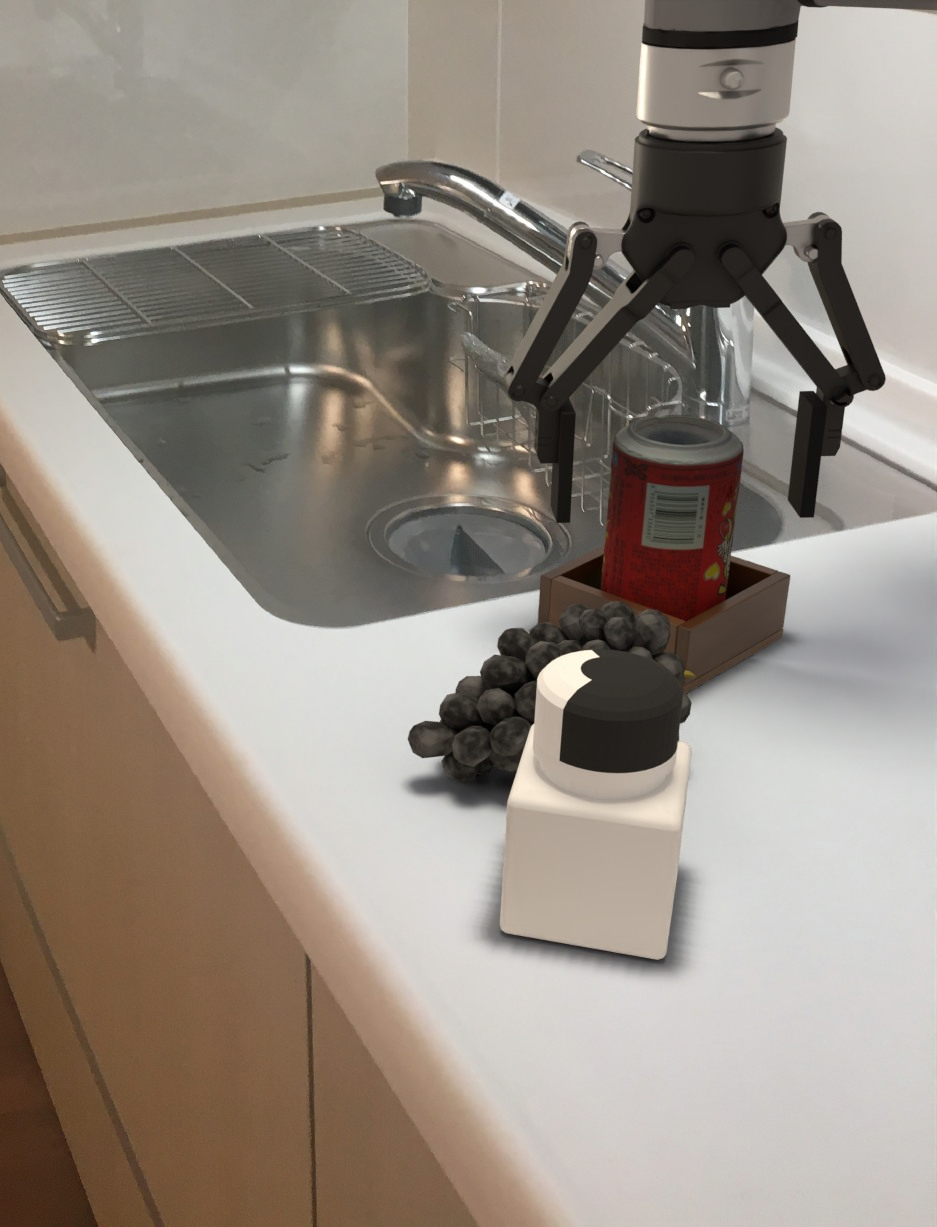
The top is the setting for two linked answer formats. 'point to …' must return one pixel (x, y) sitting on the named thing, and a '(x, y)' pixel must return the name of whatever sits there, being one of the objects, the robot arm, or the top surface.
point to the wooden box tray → (701, 640)
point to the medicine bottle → (598, 806)
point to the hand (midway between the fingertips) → (679, 512)
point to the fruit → (531, 685)
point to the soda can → (672, 513)
